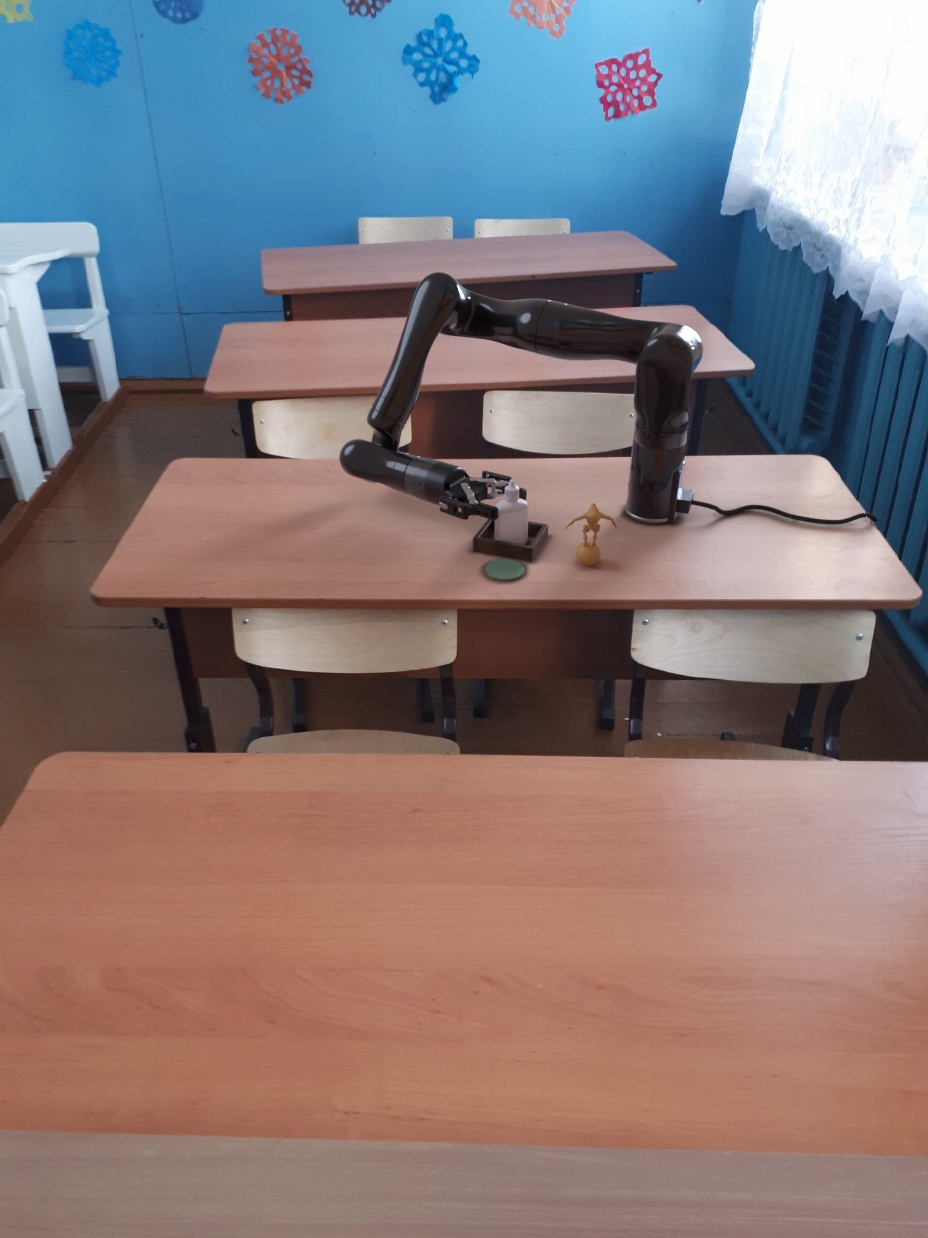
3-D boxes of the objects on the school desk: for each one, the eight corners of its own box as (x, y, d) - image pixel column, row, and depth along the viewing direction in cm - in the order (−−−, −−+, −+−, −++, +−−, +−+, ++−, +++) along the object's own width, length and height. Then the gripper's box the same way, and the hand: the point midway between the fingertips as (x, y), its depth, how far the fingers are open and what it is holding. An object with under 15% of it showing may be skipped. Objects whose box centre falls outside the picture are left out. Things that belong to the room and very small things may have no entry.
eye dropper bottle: (525, 551, 149) (527, 486, 142) (493, 548, 150) (493, 484, 143) (528, 539, 152) (530, 475, 146) (496, 536, 153) (497, 473, 147)
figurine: (610, 557, 147) (616, 492, 140) (615, 575, 142) (622, 509, 135) (560, 558, 147) (564, 493, 140) (564, 576, 142) (568, 510, 135)
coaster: (529, 564, 145) (529, 562, 145) (517, 583, 140) (517, 581, 140) (493, 558, 147) (493, 556, 147) (480, 576, 142) (480, 574, 142)
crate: (547, 537, 153) (548, 524, 152) (532, 561, 146) (532, 548, 145) (490, 527, 156) (491, 515, 155) (473, 551, 149) (472, 538, 148)
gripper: (409, 476, 148) (487, 500, 140) (459, 449, 158) (535, 469, 150) (411, 516, 152) (487, 541, 144) (459, 487, 162) (533, 509, 154)
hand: (511, 504), depth 147 cm, fingers open, 8 cm apart
